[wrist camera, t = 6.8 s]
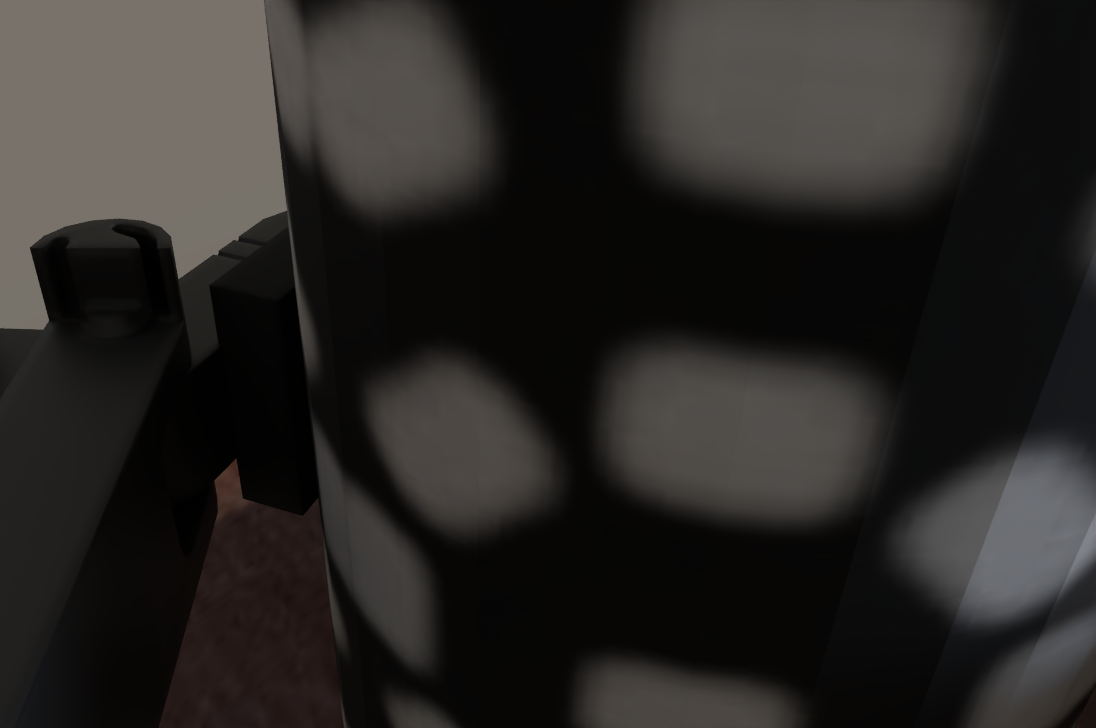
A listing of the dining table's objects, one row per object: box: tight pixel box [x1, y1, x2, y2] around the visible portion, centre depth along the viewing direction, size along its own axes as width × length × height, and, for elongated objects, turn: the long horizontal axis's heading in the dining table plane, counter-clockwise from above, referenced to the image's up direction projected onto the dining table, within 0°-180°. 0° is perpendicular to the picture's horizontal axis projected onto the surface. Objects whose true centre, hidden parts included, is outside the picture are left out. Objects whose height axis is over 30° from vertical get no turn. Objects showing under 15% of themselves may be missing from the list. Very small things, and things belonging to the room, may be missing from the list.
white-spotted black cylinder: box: [264, 0, 1096, 728], centre depth 12 cm, size 8×8×20 cm
